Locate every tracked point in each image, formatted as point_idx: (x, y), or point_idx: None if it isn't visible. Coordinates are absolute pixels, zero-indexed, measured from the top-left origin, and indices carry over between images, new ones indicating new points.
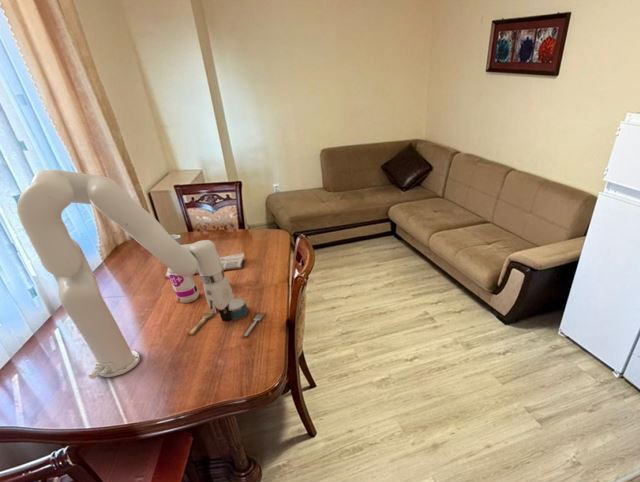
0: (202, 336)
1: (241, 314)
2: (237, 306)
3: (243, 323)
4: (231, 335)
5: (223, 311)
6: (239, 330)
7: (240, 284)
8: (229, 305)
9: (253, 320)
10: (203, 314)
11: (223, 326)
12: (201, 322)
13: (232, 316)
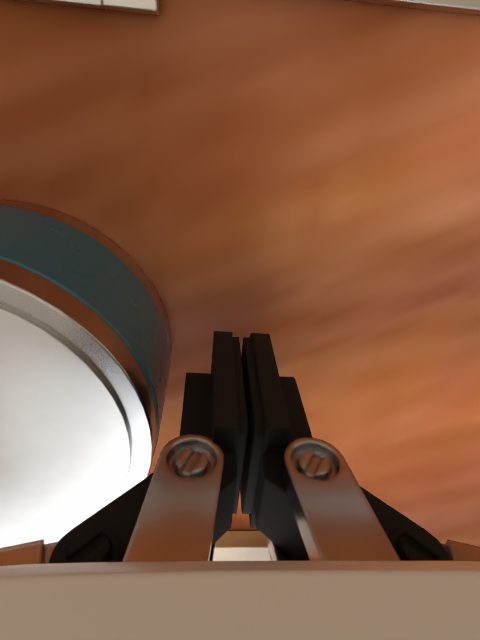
0: (416, 469)
1: (81, 247)
2: (2, 350)
3: (225, 166)
4: (476, 224)
5: (353, 497)
6: (388, 160)
7: None
8: (8, 473)
9: (158, 3)
10: None
11: (279, 373)
12: (237, 549)
13: (162, 344)
